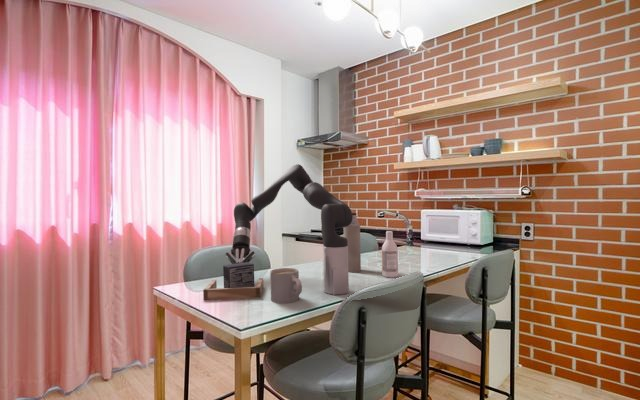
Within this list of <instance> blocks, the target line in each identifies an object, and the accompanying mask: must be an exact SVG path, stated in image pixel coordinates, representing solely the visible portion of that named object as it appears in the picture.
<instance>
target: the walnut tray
mask: <svg viewBox="0 0 640 400" xmlns="http://www.w3.org/2000/svg"><path fill="white" fill-rule="evenodd" d="M217 283H218V282H217V279H212V280H211V281H210V282H209V284H207V285H206V286H205V288H204V289H203V290H202V291H203V295H202V296H203V297H202V298H203V301H207V300H208V301H209V300H211V301H212V300H229V299H233V300H235V299H252V298H255V299H256V298H261V295H262V292H263V289H264V277H260V278H258V281H257V284H256V286H255V287H240V288H224V287H219V288H217Z"/></svg>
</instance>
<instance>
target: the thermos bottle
mask: <svg viewBox="0 0 640 400" xmlns="http://www.w3.org/2000/svg"><path fill="white" fill-rule="evenodd" d="M352 216H353V219H352V222H351V224H350V225H349V226H347V227H343V237H345V238H347V240H348V273H358V272H361V271H362V263H361V261H362V260H361V259H362V258H361V224H360V222H359V219H357V217H358V216H357V213H356V212H352Z"/></svg>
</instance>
